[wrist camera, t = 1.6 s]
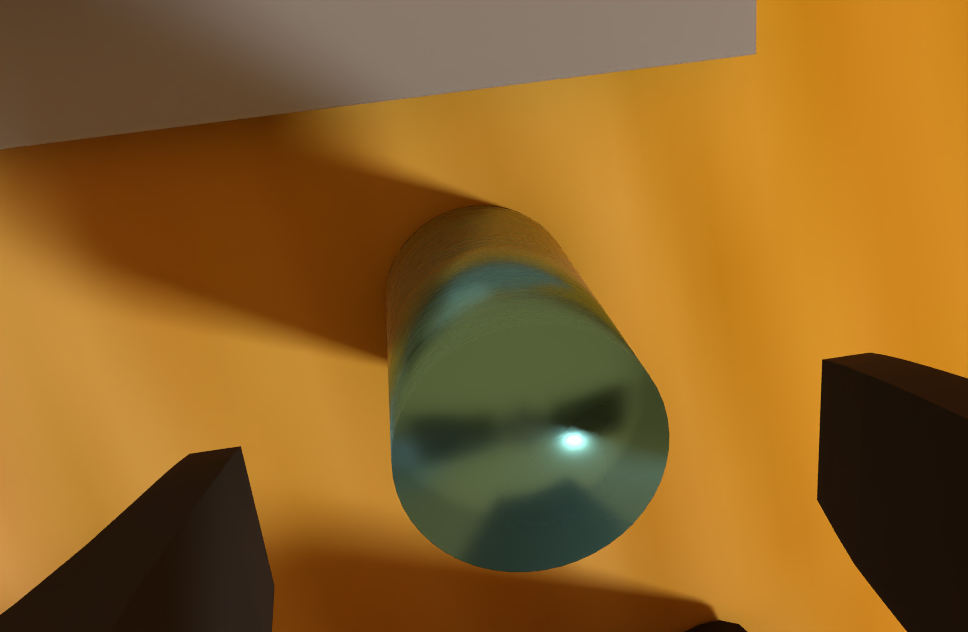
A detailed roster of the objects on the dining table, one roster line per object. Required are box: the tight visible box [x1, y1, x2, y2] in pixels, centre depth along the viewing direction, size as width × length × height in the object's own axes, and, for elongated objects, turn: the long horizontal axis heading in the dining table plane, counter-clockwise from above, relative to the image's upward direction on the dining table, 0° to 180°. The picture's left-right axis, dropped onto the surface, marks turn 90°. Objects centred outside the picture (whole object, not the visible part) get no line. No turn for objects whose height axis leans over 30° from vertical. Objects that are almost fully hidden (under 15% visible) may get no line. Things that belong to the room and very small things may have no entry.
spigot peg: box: [385, 206, 669, 572], centre depth 14 cm, size 4×4×6 cm
